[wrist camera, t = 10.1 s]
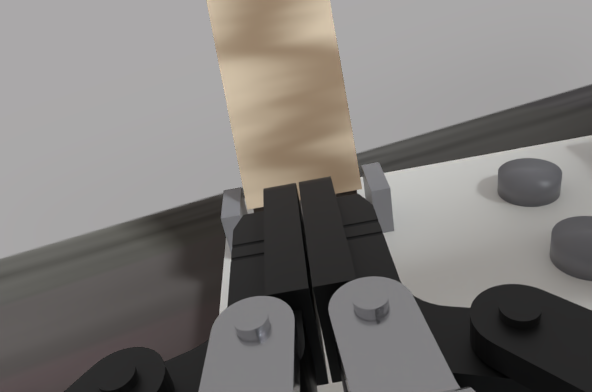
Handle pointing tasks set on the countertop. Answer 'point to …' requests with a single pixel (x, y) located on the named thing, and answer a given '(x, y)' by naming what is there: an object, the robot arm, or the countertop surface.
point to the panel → (477, 224)
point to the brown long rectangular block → (284, 94)
